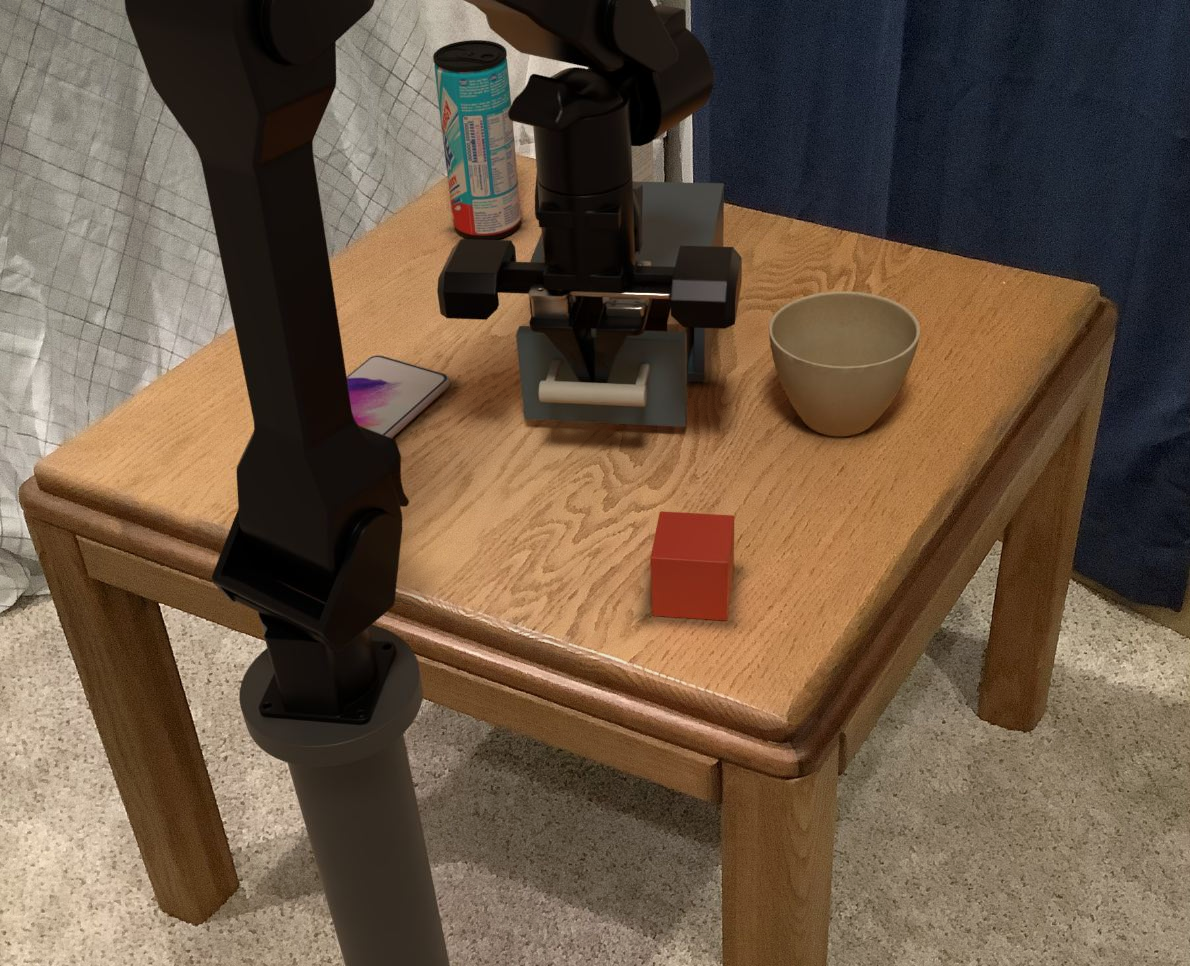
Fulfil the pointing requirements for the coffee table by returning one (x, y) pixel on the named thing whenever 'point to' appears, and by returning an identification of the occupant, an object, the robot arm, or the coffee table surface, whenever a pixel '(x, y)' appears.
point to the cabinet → (678, 240)
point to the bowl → (842, 357)
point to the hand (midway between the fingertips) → (597, 396)
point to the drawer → (611, 375)
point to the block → (692, 565)
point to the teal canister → (478, 138)
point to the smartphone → (391, 393)
